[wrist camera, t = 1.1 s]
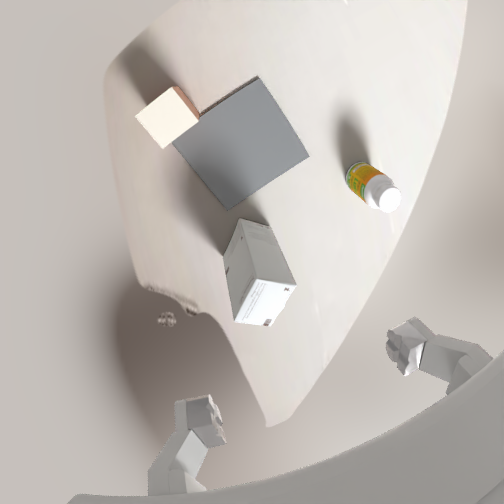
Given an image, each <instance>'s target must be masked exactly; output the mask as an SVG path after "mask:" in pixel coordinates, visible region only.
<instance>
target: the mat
mask: <svg viewBox="0 0 504 504" xmlns="http://www.w3.org/2000/svg"><path fill="white" fill-rule="evenodd" d="M171 143H172V144H173V145H174V146H175V148H176V149H177V150H178V151H179V152H180V154H181V155H182V156H183V157H184V158H185V160H186V161H187V162H188V163H189V164H190V166H191V167H192V168H193V169H194V171H195V172H196V173H197V174H198V175H199V177H200V178H201V179H202V180H203V182H204V183H205V184H206V185H207V186H208V188H209V189H210V190H211V191H212V192H213V194H214V195H215V196H216V197H217V199H218V200H219V201H220V202H221V203H222V205H223V206H224V207H225V208H226V210H227V211H228V210H229V209H231V208H232V207H234V206H235V205H237V204H238V203H239V202H241V201H242V200H244V199H245V198H247V197H248V196H250V195H251V194H253V193H254V192H256V191H257V190H259V189H260V188H262V187H263V186H265V185H266V184H268V183H269V182H271V181H272V180H274V179H275V178H277V177H278V176H280V175H282V174H283V173H285V172H286V171H288V170H289V169H291V168H292V167H294V166H295V165H297V164H299V163H300V162H302V161H303V160H305V159H306V158H308V157H310V156H309V155H308V153H307V151H306V150H305V148H304V146H303V145H302V143H301V141H300V140H299V138H298V136H297V135H296V133H295V131H294V130H293V128H292V127H291V125H290V123H289V122H288V120H287V119H286V117H285V115H284V114H283V112H282V111H281V109H280V108H279V106H278V105H277V103H276V102H275V100H274V98H273V97H272V95H271V94H270V92H269V91H268V90H267V88H266V87H265V85H264V84H263V82H262V81H261V79H260V78H259V79H257V80H255V81H254V82H252V83H250V84H249V85H247V86H246V87H244V88H242V89H241V90H239V91H238V92H236V93H235V94H233V95H231V96H230V97H228V98H227V99H225V100H224V101H222V102H221V103H219V104H218V105H216V106H215V107H214V108H212V109H211V110H209V111H208V112H206V113H205V114H204V115H202V116H201V117H199V122H197V123H196V124H195V125H193V126H192V127H191V128H189V129H188V130H187V131H185V132H184V133H183V134H181V135H180V136H179V137H177V138H176V139H175V140H173V141H172V142H171Z"/></svg>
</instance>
